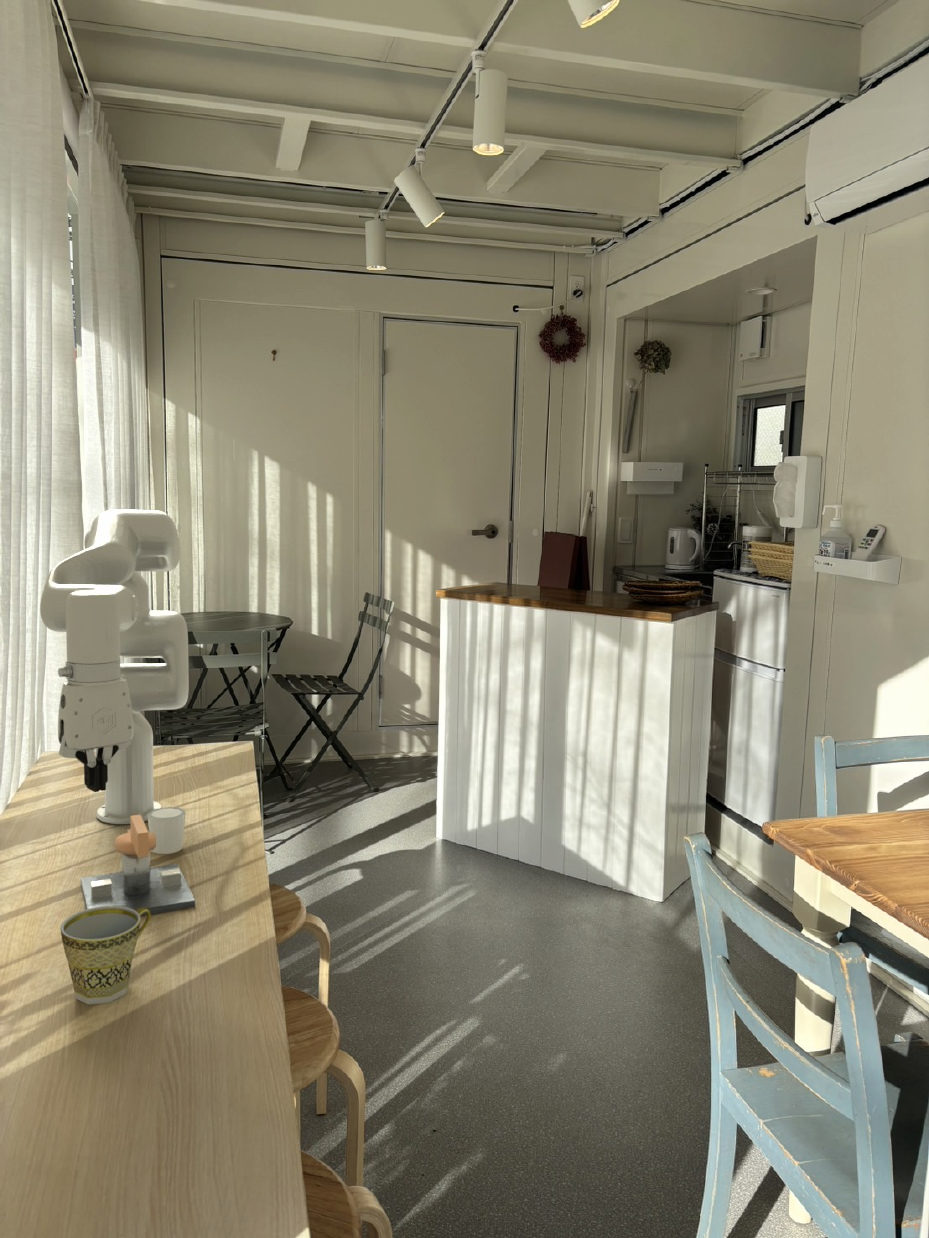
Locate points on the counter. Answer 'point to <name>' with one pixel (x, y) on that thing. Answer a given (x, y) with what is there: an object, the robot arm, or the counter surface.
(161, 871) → the grey plate with posts
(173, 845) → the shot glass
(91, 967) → the ceramic cup
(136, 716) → the robot arm
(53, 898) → the counter surface
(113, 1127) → the counter surface
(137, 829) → the orange lever handle
